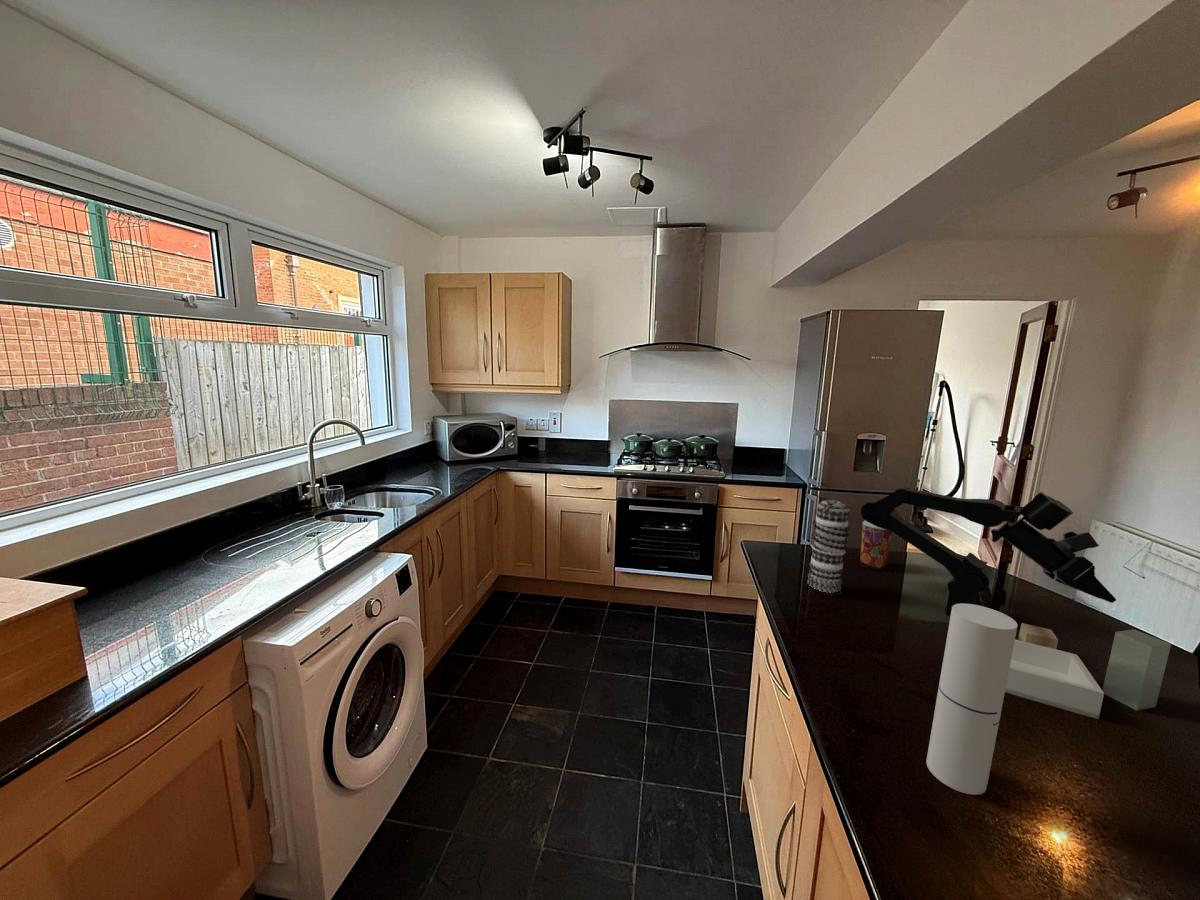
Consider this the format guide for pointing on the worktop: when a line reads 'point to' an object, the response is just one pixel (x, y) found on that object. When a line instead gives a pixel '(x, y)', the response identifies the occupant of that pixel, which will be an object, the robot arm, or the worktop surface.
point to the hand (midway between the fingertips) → (1107, 599)
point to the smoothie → (874, 545)
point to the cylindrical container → (970, 696)
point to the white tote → (1053, 679)
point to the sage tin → (1136, 669)
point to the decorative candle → (828, 546)
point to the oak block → (1037, 636)
